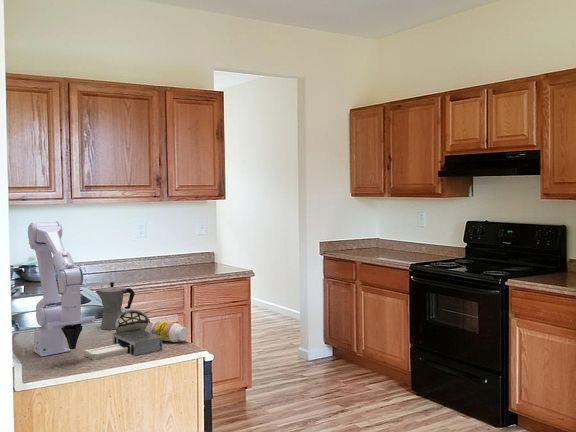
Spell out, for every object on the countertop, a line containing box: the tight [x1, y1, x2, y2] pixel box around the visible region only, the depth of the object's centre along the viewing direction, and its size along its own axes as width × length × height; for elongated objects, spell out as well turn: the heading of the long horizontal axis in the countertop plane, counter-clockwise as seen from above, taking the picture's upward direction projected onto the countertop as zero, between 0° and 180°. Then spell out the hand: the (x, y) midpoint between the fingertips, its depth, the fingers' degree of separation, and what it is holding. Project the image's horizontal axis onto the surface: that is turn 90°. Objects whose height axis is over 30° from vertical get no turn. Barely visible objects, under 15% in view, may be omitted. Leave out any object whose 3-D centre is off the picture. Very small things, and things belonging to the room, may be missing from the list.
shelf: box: [112, 329, 163, 357], centre depth 197 cm, size 10×16×4 cm, turn 42°
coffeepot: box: [94, 281, 135, 331], centre depth 226 cm, size 15×9×18 cm, turn 90°
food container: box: [115, 309, 151, 333], centre depth 207 cm, size 12×6×10 cm
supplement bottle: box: [150, 320, 189, 343], centre depth 205 cm, size 7×7×13 cm
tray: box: [84, 344, 129, 361], centre depth 189 cm, size 12×6×2 cm, turn 132°
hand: (72, 348), depth 182 cm, fingers closed
